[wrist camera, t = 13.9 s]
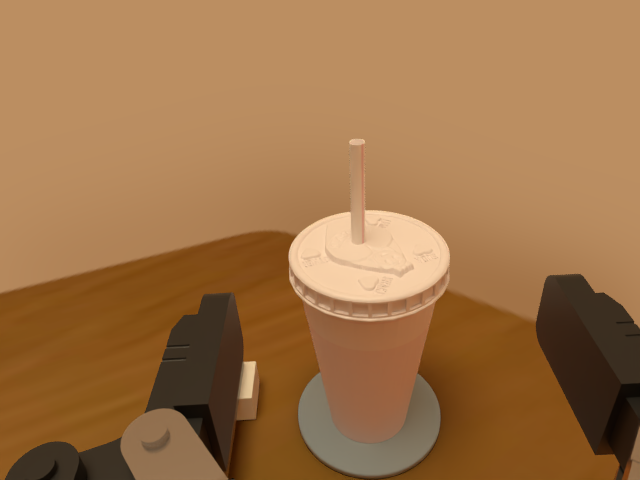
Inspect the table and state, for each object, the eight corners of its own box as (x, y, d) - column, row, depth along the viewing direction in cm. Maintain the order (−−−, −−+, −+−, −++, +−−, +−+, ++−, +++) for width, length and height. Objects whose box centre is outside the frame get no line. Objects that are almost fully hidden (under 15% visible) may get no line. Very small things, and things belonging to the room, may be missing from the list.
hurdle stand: (233, 627, 19) (226, 607, 18) (167, 630, 19) (157, 610, 18) (259, 382, 29) (256, 361, 28) (215, 384, 29) (210, 363, 28)
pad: (322, 499, 23) (321, 494, 23) (284, 381, 28) (283, 376, 28) (467, 452, 24) (467, 446, 24) (403, 348, 30) (403, 343, 30)
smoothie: (367, 345, 30) (366, 102, 22) (461, 412, 26) (501, 143, 18) (277, 409, 26) (239, 149, 19) (369, 499, 22) (370, 212, 15)
